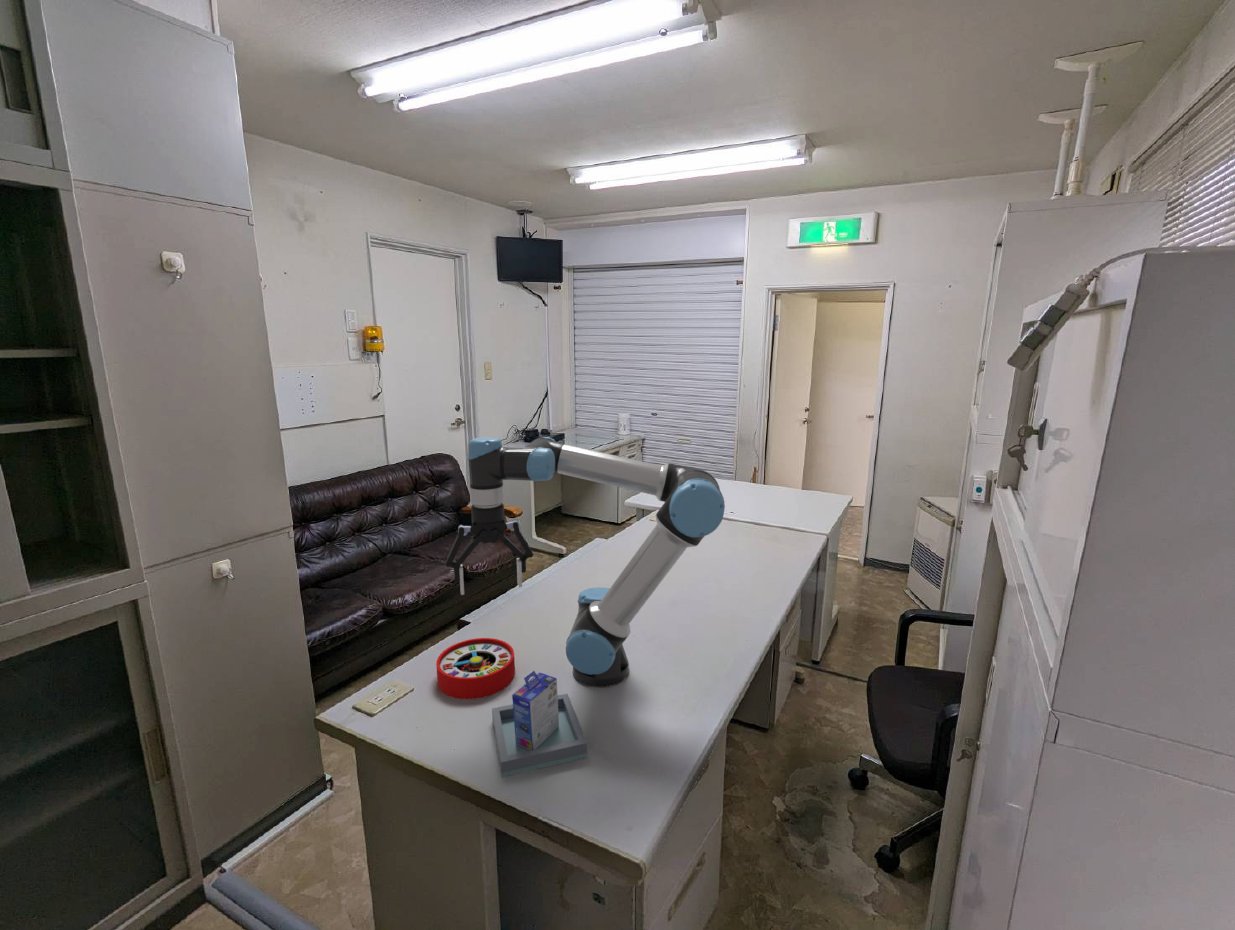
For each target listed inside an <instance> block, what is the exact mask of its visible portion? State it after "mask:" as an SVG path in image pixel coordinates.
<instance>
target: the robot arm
mask: <svg viewBox="0 0 1235 930" xmlns="http://www.w3.org/2000/svg"><path fill="white" fill-rule="evenodd" d="M467 446H468V447H467V448H468V451H467V453H468V454H467V461H468V462H467V463H468V470H469V471H468V473H469V491H470V492H469V493H470V503H471V506H470V510H471V511H470V513H471V514H470V515H471V524H470V525H464V524H458V527H457V535H456V536H455V539H454V541H453V543H452V546H451V548H450V550H449V552H448V554H447V557H446V559H445V566H446V567H447V568H453V571H454V573H453V575H454V581H456V582H458V581H459V585H460V586H459V587H460V595H461V596H463V595H465V584H464V583H465V581H464V568H463V563H464V562H465V561H466V560H467V558H468V557H469V556H470V554H471V553H472V552H473V551H474V549H475V548H476V547H477V546H478V545H479V543H481V544H488V543H497V542H498V541H500V542H502V544H504V545H505V546H506V547H507V548H508V549H509V550H510V551H511V552H512V553H513V554H514V555H516V557H517V558H516V580H517V586H518V588H522V587H523V573H526V572H527V559H530V558H533V557H534V553H533V552H532V549H531V548H530V546H529V545H528V543H527V541H526V540H525V539H526V538H524V536H523V534H522V533H521V531H520V527H519V523H518V521H517V519H513V520H511V521H508V522H506V520H505V519H506V518H505V504H503V502H504V500H505V499H504V496H505V495H504V481H529V482H530V481H531V482H540V481H542V482H544V481H545V482H546V481H551V479H553V477H554V474H555V473H556V474H561V475H564V476H570V477H572V478H577V479H582V480H586V481H591V482H595V483H599V484H604V485H608V486H612V487H616V488H621V489H626V490H631V491H634V492H637V493H641V494H642V493H643V494H647V495H651V496H655V497H656V499H657V501H660V502H664V503H663V504H662V505H661V507H660V508H659V509H658V511H657V512H656V514H655V519H656V525H655V526H654V528H653V529H652V530H651V532H650V533H649V535H648V536H647V537H646V539H645V540H644V541H643V543H642V544H641V545H640V547H639V548H638V549H637V551H636V552H635V554H634V555H633V556H632V558H631V559H630V561H629V562H628V563H627V565H626V566H625V567H624V568H623V570H622V571H621V573H620V574H619V575H618V577H617V578H616V580H615V581H614V582H613V584H612V585H611V586H610V587H591V588H586V589H583V590H582V591H581V592H579V594H578V597H577V598H578V599H577V603H578V609H577V610H578V611H577V615H576V618H575V620H574V623H573V625H572V628H571V630H570V633H569V635H568V636H567V639H566V643H565V644H566V645H565V654H566V658H567V661H568V662H569V663H570V665H571V666H572V674H573V677H574V678H575V679H576V681H578V682H579V683H581V684H582V685H585V686H588V687H593V688H594V687H596V688H605V687H611V686H615V685H617V684H619V683H621V682H623V681H625V679H627V677H628V675H629V672H630V670H629V669H630V668H629V665H630V663H629V660H628V659H629V658H628V657H627V653H626V651H625V649H624V642H625V641H626V640H627V638H628V637H629V636H630V634H631V625H630V623H631V622H632V621H633V620H634V618H635V617H636V616H637V614H638V613H639V612H640V611H641V609H642V608H643V606H644V605H645V603H646V602H647V601H648V600H649V598H650V597H651V596H652V595H653V593H654V592H655V591H656V589H657V588H658V586H659V585H660V584H661V583H662V581H663V580H664V579H665V577H666V576H667V575H668V573H670V571H671V569H673V567H674V566H675V565H676V563H677V561H678V560H679V559H680V558H681V557H682V555H683V554H684V553H685V551H686V550H687V548H693V547H698V545H699V544H700V543H701V542H702V540H703V539H704V538H705V537H706V536H708V535H710V534H712V533H713V532H714V531H716V530H717V529H718V527H719V526H720V525H721V523H722V521H723V519H724V514H725V507H726V506H725V498H724V496H723V493H722V491H721V489H720V485H719V483H718V481H717V479H716V478H715V477H714V476H713V475H712V474H711V473H709V472H707V471H706V470H703V469H701V468H696V467H690V466H686V465H679V464H676V463H675V464H674V463H670V462H667V463H665V464H663V465H660V464H655V463H651V462H647V461H642V460H637V459H633V458H628V457H626V456H624V457H623V456H619V455H615V454H610V453H605V452H601V451H597V450H592V449H588V448H584V447H579V446H574V445H569V444H565V443H561V442H557V441H556V440H554V438H552V437H547V436H542V437H539V438H536V439H534V440H532V441H531V442H530V443H529V444H527V445H525V446H523V447H507V446H503V444H502V440H501V439H500V438H499V437H493V436H484V437H483V436H482V437H476V438H473V439H471V440H470V441H469V442H468V445H467ZM507 529H510V531H511V532H514V534H515V536H516V538H517V540H518V541H519V543H520V545H521V546H522V548H523V550H524V552H523V551H522V550H521V549H520V548H519V547H517V545H516V544H515V543H514V542H512V541H511V540H510V539H509V538H508V537H507V536H506V534H505V532H506V531H507ZM468 533H471V534H472V535H473V536H472V537H471V539H470V540H469V542H468V543H467V544H466V545H465V546H464V548H463V549H462V551H461V552H460V553H459V555H458V556H457V557H456V555H457V553H458V551H459V549H460V548H461V545H462V542H463V540H464V536H465V537H466V536H467V535H468Z"/></svg>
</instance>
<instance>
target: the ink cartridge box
mask: <svg viewBox="0 0 1235 930" xmlns="http://www.w3.org/2000/svg"><path fill="white" fill-rule="evenodd" d="M524 682H525V684H523V686H521V687H520V688H519V689H518V690H516V691H515V692H514V693H513V694H512V695H511V698H512V704H513V712H514V726H515V739H516V744H517V745H519V746H521V747H523V748H525V749H527V750H529V751H530V750H535V749H537V748H538V747H539V746H540V745H541V744H542V743H543V742H544V741H545V740H546V739H547V738H548V737H549V736H550V735H551V734H552V733H553V731H554V730H555V729H556V728H557V727H558V726H559V716H558V695H559V694H558V679H557V677H554V676H551V675H549V674H546V673H543V672H538V673H536V671H535V670H533V671H532V672H530V674H528V675H527V676H525V677H524Z"/></svg>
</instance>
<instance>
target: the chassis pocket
mask: <svg viewBox="0 0 1235 930" xmlns="http://www.w3.org/2000/svg"><path fill="white" fill-rule="evenodd" d="M491 709H492V710H491V716H492V726H493V733H494V737H495V744H496V751H497V756H498V763H499V770H500V775H501V778H505V777H508V776H512V775H517V774H522V773H526V772H530V771H534V770H535V771H536V770H538V769H544V768H548V767H551V766H555V765H560V764H564V763H568V762H569V763H570V762H572V761H577V760H581V759H587V758H588V741H587V739H586V736H585V733H584V732H583V729H582V726H581V724H580V721H579V719H578V717H577V713H576V711H575V709H574V706H573V704H572V701H571V699H570V696H569V693H563V694H558V716H559V726H558V727H557V728H556V729H555V730H554V731H553V733H552V734H551V735H550V736H549V737H548V738H547V739H546V740H545V741H544V742H543V743H542V744H541V745H540V746H539V747H538V748H537V749H535V750H530V751H529V750H527V749H525V748H523V747H521V746H519V745H517V744H516V739H515V726H514V712H513V703H512V704H507V705H502V706H497V707H492V708H491Z"/></svg>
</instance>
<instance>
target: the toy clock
mask: <svg viewBox="0 0 1235 930" xmlns="http://www.w3.org/2000/svg"><path fill="white" fill-rule="evenodd" d="M435 665H436V678H437V687H438V689H439V690H440V692H441V693H442V694H444V695H446V696H448V697H450V698H452V699H457V700H458V699H459V700H476V699H482V698H486V697H490V696H493V695H494V694H497V693H499V692H501V691H502V690H504V689H506V688H507V687H508V686H509V685H510V684H511V683H512V682H513V680H514V678H515V676H516V675H515V674H516V667H515V665H516V664H515V651H514V649H513V646H512V645H510V644H509V643H508V642H507V641H505V640H502V639H498V638H492V637H491V638H490V637H477V638H470V639H466V640H462V641H460V642H457V643H455V644H452V645H451V646H449V647H447V648H446V649H444V650H443V651H442V652H441V653H440V654H439V656H438V657H437V660H436V664H435Z"/></svg>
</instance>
